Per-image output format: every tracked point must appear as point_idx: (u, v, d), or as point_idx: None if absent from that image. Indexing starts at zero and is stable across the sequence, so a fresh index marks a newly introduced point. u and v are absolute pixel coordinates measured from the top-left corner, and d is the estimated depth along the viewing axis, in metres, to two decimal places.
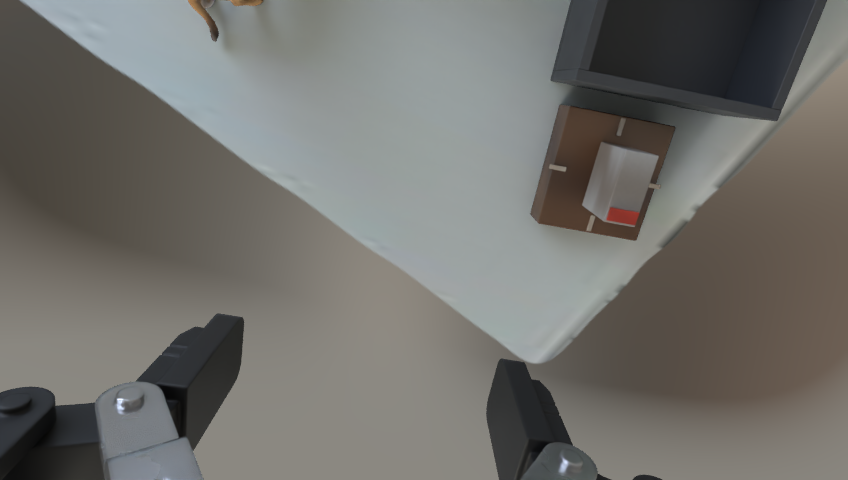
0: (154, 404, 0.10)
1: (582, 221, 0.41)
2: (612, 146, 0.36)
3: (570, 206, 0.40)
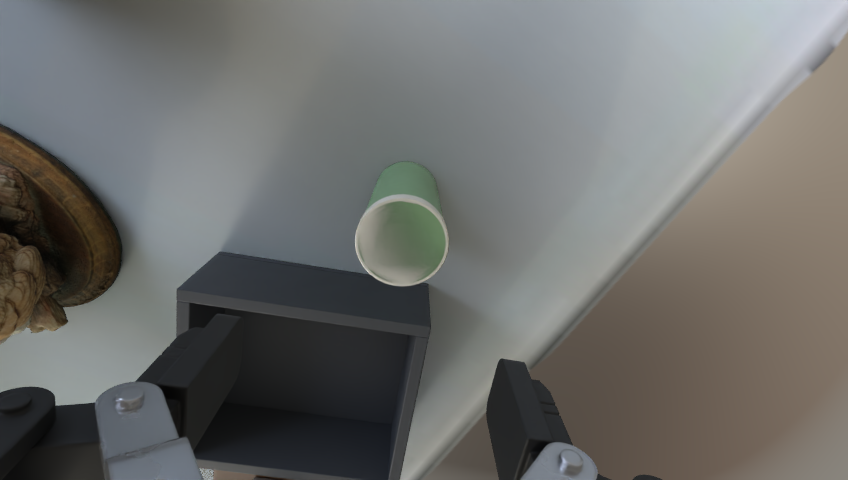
0: (154, 404, 0.10)
1: None
2: None
3: None
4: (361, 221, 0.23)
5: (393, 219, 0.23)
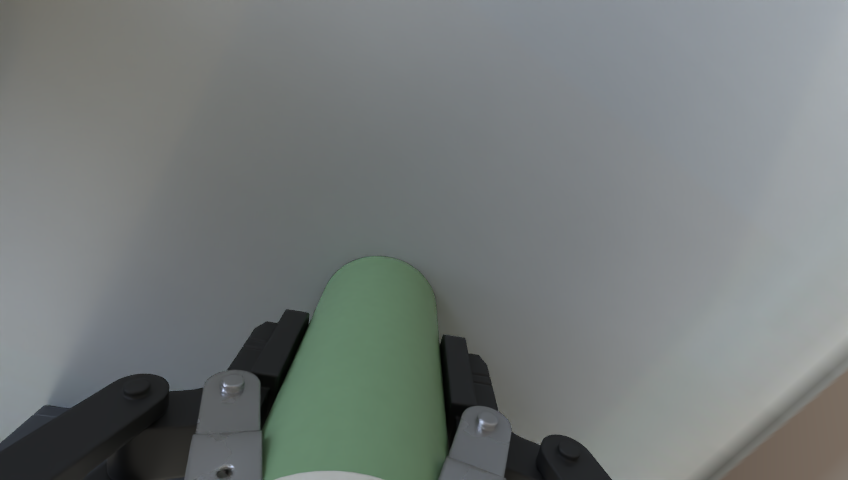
0: (254, 390, 0.11)
1: None
2: None
3: None
4: None
5: None
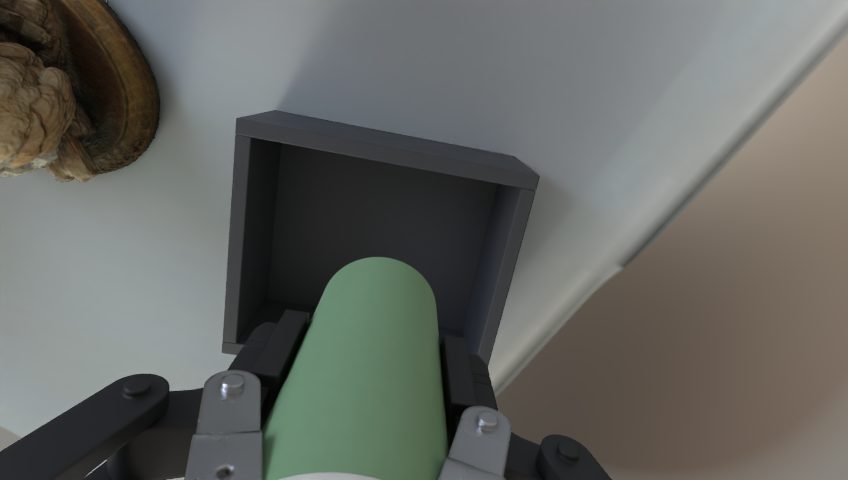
0: (254, 390, 0.11)
1: None
2: None
3: None
4: None
5: None
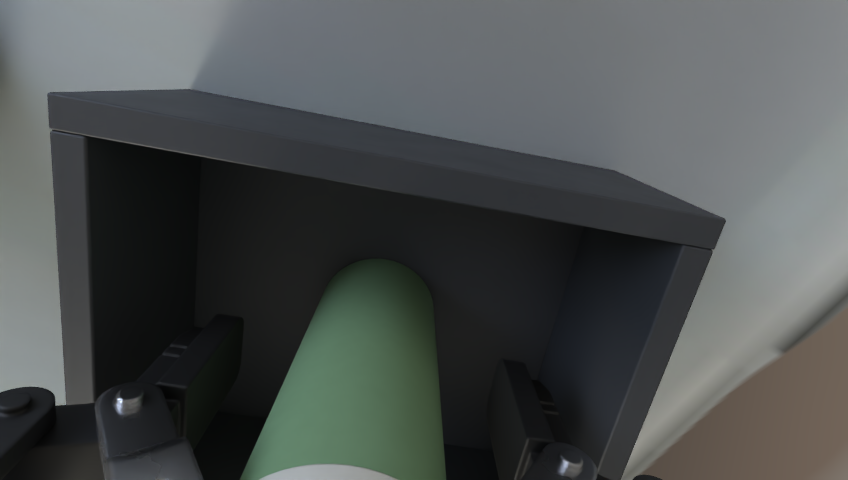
0: (154, 404, 0.10)
1: None
2: None
3: None
4: None
5: None
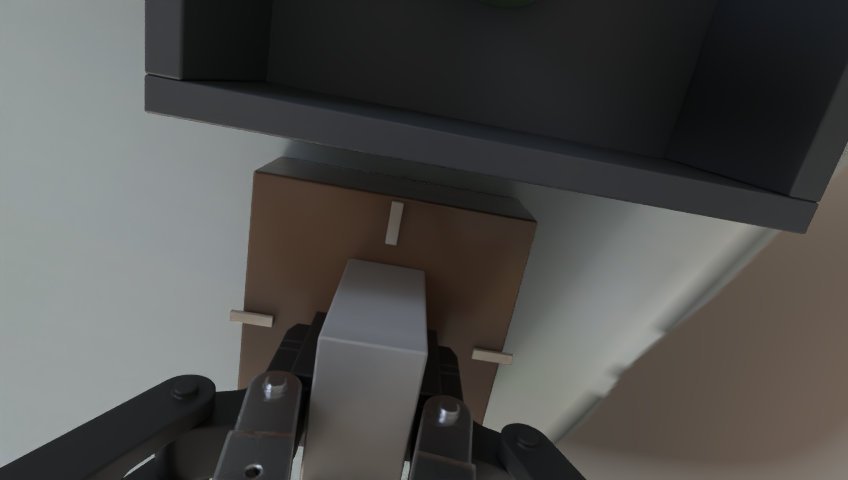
0: (297, 391, 0.11)
1: None
2: (336, 292, 0.13)
3: None
4: None
5: None
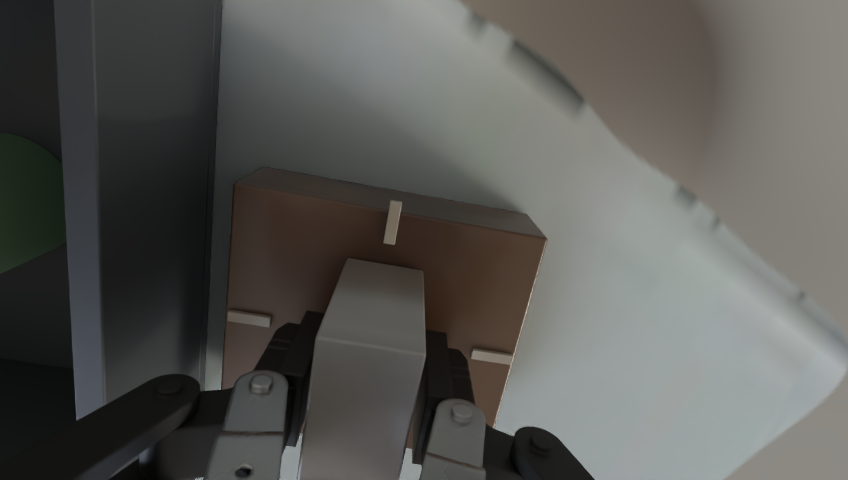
0: (283, 390, 0.11)
1: (485, 372, 0.17)
2: None
3: None
4: None
5: None
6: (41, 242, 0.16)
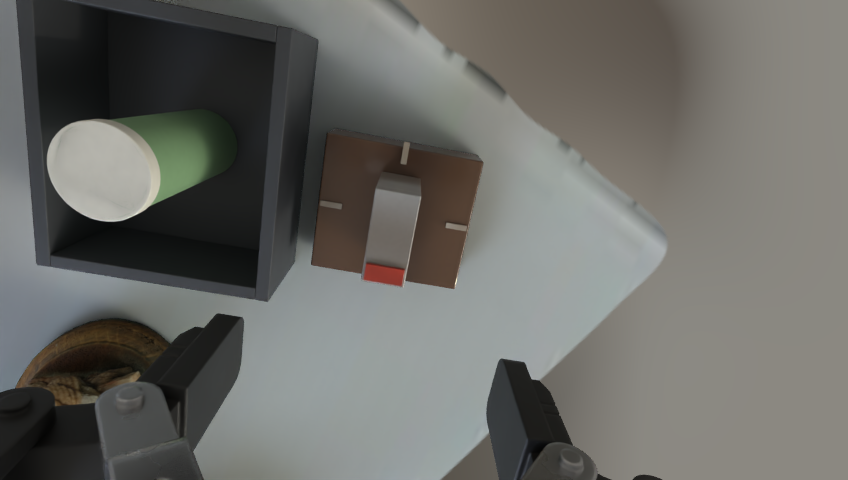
0: (154, 404, 0.10)
1: (453, 236, 0.31)
2: None
3: (432, 252, 0.32)
4: None
5: (73, 181, 0.21)
6: (224, 165, 0.30)
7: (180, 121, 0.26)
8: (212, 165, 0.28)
